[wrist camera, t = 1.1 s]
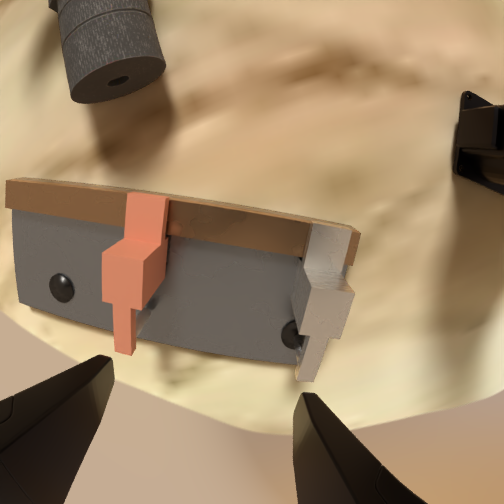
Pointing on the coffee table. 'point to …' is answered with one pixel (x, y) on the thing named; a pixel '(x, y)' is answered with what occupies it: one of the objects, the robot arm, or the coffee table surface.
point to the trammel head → (135, 267)
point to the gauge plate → (191, 270)
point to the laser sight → (108, 47)
